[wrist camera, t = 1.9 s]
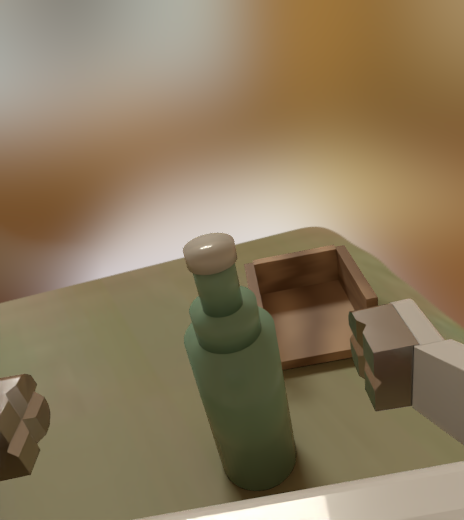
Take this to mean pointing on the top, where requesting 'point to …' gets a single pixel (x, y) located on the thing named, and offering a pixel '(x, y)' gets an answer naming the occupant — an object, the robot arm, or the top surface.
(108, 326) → the top surface
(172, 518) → the robot arm
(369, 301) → the u rest
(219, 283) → the bottle
